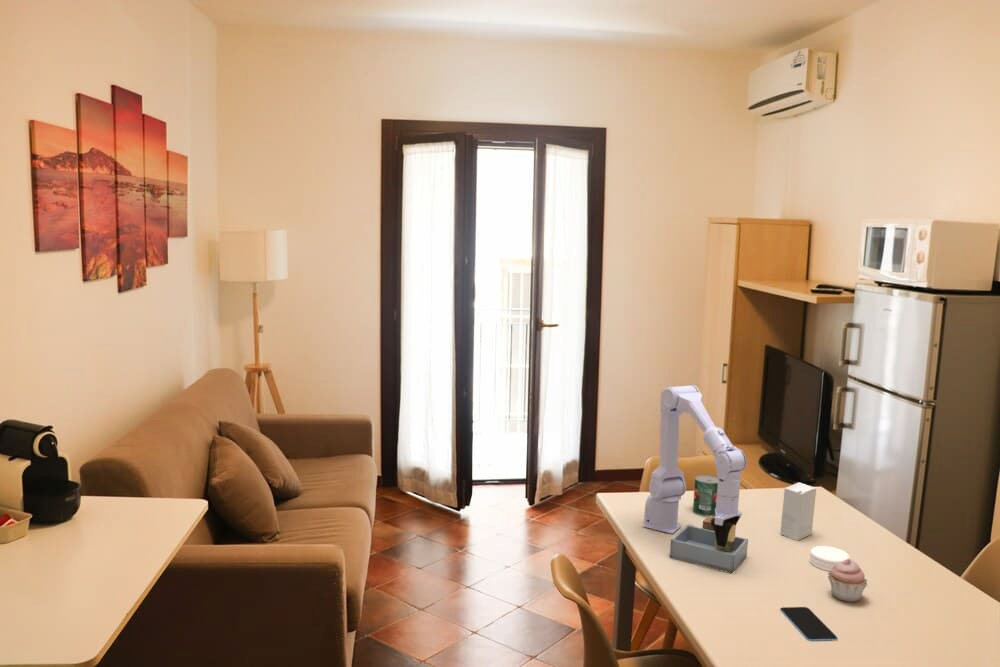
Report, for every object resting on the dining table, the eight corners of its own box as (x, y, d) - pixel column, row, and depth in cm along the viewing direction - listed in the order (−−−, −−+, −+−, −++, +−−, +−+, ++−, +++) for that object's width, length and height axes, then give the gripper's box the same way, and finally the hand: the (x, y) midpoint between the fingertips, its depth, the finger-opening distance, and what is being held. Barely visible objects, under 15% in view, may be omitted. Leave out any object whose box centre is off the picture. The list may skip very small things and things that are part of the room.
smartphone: (807, 606, 192) (839, 638, 177) (807, 609, 192) (839, 642, 177) (778, 606, 191) (808, 639, 176) (777, 610, 191) (807, 642, 176)
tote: (669, 557, 218) (671, 539, 217) (686, 541, 229) (687, 524, 228) (732, 573, 209) (734, 555, 208) (746, 556, 220) (747, 539, 219)
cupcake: (817, 591, 201) (820, 553, 199) (845, 585, 204) (849, 548, 203) (845, 608, 192) (849, 568, 191) (874, 602, 195) (879, 563, 194)
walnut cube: (701, 537, 233) (702, 521, 232) (707, 532, 237) (708, 515, 236) (718, 541, 230) (720, 524, 229) (723, 536, 234) (725, 519, 234)
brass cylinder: (712, 549, 215) (714, 524, 214) (717, 543, 220) (719, 518, 219) (730, 553, 213) (732, 528, 212) (736, 547, 217) (738, 523, 216)
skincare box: (794, 528, 241) (798, 481, 239) (813, 535, 237) (817, 487, 235) (779, 535, 236) (783, 486, 234) (797, 541, 232) (802, 492, 229)
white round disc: (854, 565, 217) (855, 553, 217) (840, 576, 210) (842, 564, 209) (817, 554, 224) (819, 542, 223) (803, 564, 217) (804, 552, 216)
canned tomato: (689, 507, 256) (691, 474, 255) (712, 507, 257) (715, 474, 256) (697, 517, 248) (700, 483, 247) (722, 516, 249) (724, 482, 248)
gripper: (735, 505, 206) (731, 555, 208) (750, 489, 218) (746, 537, 220) (708, 499, 210) (704, 548, 212) (724, 484, 222) (721, 531, 224)
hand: (724, 542), depth 216 cm, fingers closed on brass cylinder, 5 cm apart
